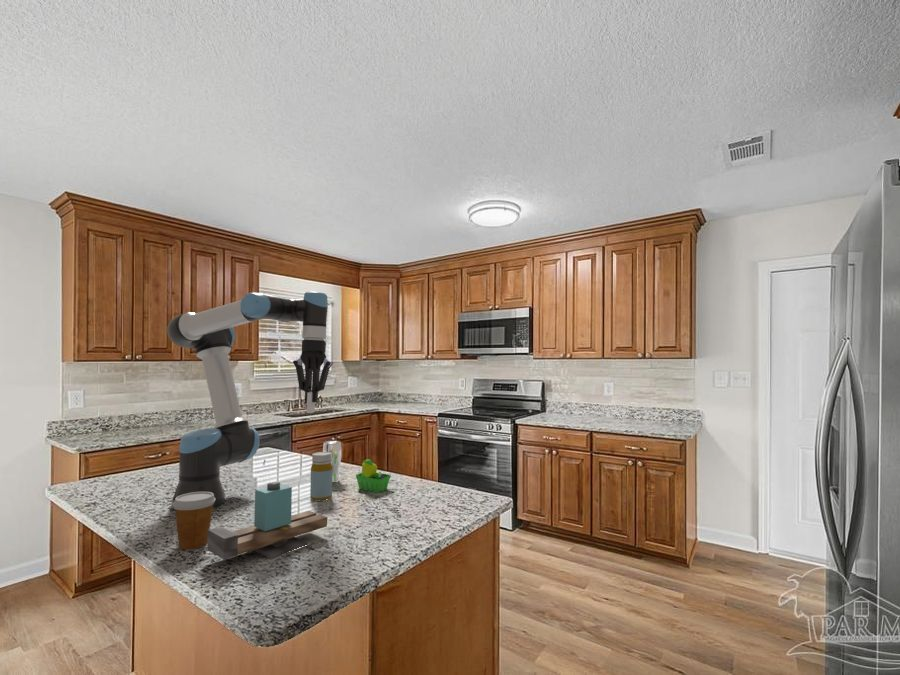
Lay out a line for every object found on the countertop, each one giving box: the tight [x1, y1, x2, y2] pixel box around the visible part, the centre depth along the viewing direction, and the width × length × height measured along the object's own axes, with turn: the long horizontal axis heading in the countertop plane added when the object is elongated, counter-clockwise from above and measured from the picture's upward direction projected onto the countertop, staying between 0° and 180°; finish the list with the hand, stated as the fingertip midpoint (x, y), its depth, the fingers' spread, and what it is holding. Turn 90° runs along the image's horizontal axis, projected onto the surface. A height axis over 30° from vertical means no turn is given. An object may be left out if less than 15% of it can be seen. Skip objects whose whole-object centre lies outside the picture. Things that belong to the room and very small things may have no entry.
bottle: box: [309, 451, 333, 501], centre depth 158 cm, size 7×7×15 cm
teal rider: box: [253, 481, 293, 531], centre depth 116 cm, size 7×5×12 cm
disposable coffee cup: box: [173, 492, 216, 550], centre depth 118 cm, size 10×10×12 cm
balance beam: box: [206, 510, 328, 561], centre depth 116 cm, size 27×12×7 cm, turn 140°
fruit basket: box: [355, 458, 392, 493], centre depth 169 cm, size 11×9×11 cm
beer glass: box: [322, 440, 342, 483], centre depth 180 cm, size 7×7×15 cm
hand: (310, 412), depth 151 cm, fingers closed
